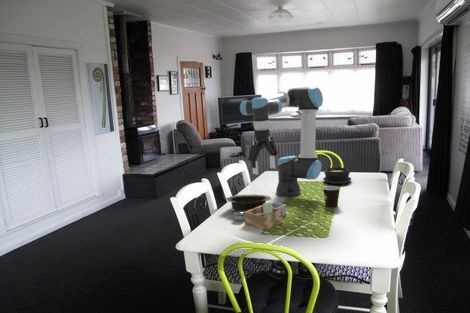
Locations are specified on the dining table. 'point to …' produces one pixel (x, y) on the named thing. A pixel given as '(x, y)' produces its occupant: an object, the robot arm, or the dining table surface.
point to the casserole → (337, 175)
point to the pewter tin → (239, 216)
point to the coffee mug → (331, 196)
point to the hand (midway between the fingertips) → (264, 171)
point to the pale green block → (267, 209)
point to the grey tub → (280, 207)
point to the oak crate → (263, 218)
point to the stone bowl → (247, 201)
